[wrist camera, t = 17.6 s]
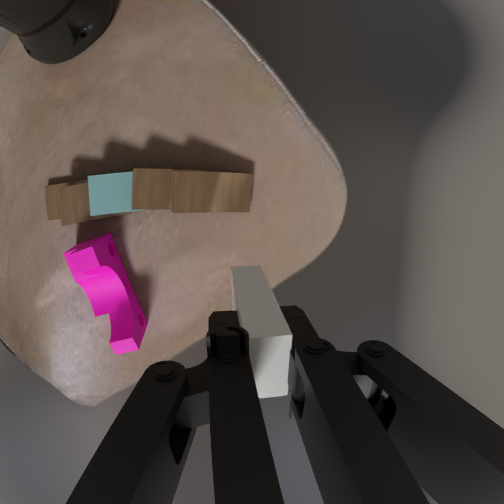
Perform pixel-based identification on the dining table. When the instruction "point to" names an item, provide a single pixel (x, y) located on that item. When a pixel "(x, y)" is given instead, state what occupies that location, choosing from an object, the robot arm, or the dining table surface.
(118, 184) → the domino
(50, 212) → the domino
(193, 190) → the domino
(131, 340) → the toy block
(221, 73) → the dining table surface
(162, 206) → the domino
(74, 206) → the domino
